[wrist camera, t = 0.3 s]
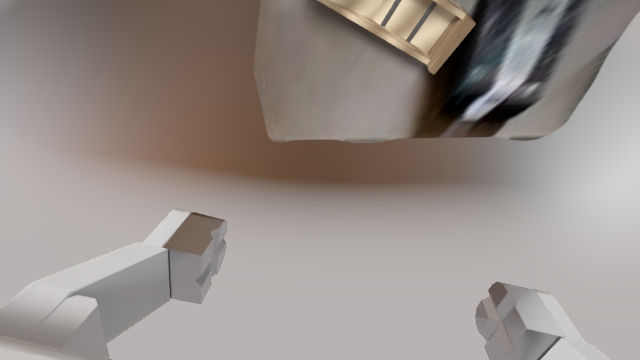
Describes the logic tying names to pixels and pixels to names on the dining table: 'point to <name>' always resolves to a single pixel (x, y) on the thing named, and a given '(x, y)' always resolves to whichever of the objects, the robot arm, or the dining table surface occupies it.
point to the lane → (411, 25)
